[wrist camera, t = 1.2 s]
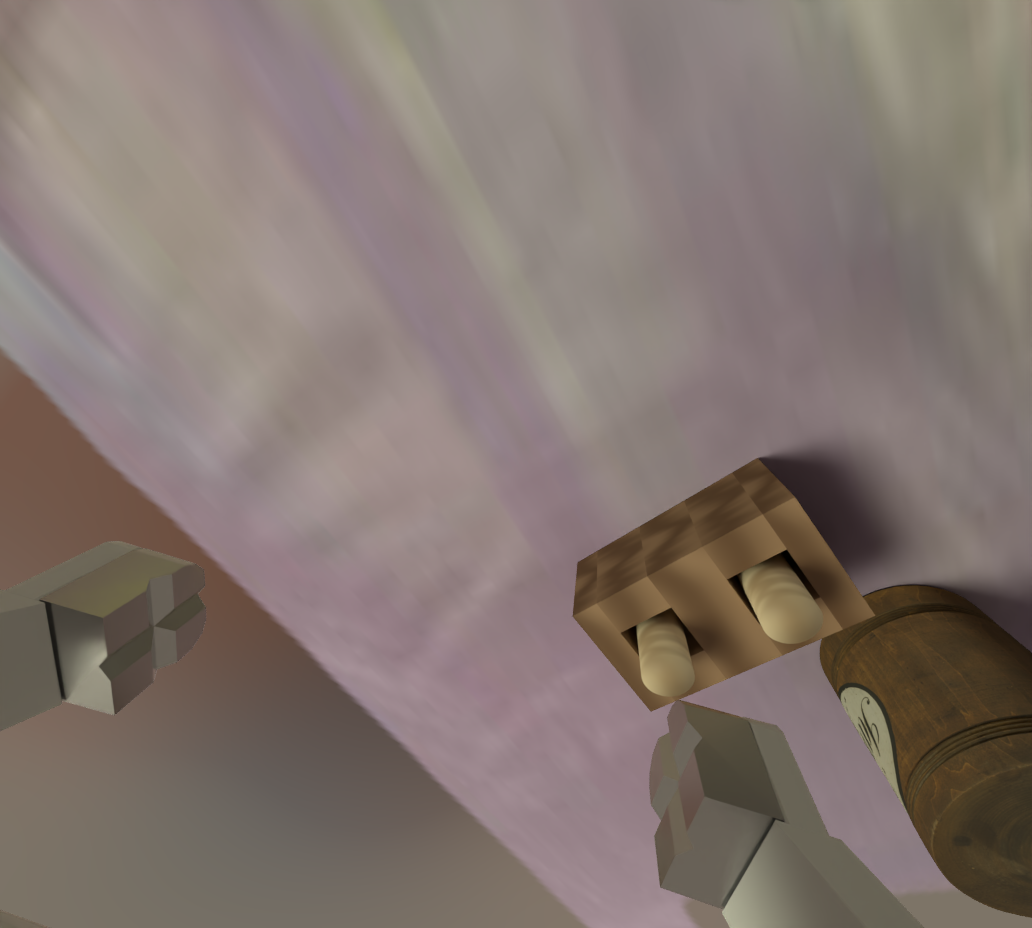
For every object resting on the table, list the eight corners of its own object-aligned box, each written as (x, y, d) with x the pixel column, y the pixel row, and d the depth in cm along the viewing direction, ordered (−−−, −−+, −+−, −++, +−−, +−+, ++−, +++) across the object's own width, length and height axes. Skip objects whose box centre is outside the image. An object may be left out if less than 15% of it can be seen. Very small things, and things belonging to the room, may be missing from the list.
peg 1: (663, 587, 43) (676, 647, 36) (687, 618, 44) (705, 684, 37) (626, 606, 45) (631, 668, 37) (650, 636, 45) (659, 703, 38)
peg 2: (767, 533, 40) (804, 586, 33) (791, 568, 41) (834, 628, 33) (723, 555, 42) (750, 612, 34) (748, 589, 42) (779, 652, 35)
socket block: (757, 458, 43) (795, 497, 35) (824, 556, 45) (875, 615, 37) (577, 562, 50) (572, 616, 41) (642, 644, 52) (650, 711, 43)
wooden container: (785, 652, 49) (915, 905, 29) (908, 555, 44) (1175, 782, 23) (895, 730, 50) (1097, 1030, 30) (1029, 645, 45) (1389, 939, 24)
